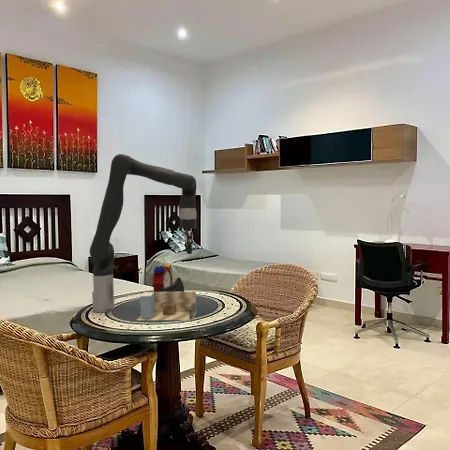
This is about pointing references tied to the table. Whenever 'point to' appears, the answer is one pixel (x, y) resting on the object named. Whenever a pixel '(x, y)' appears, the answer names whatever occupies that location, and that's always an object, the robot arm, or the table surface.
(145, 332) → the table surface
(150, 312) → the blue grey block
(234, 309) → the table surface
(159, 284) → the alarm clock
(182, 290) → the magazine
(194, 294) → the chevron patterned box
